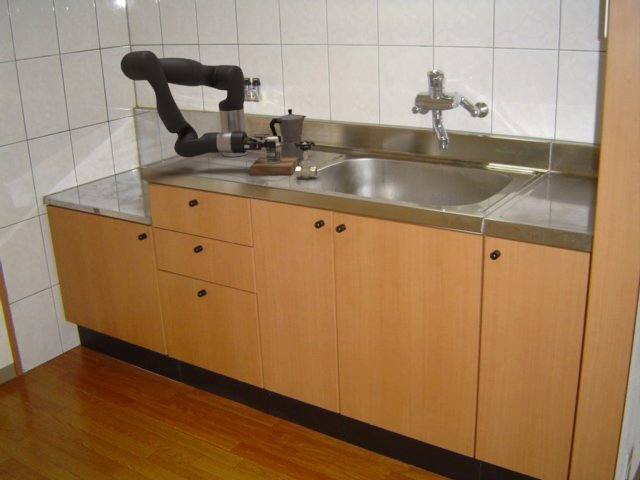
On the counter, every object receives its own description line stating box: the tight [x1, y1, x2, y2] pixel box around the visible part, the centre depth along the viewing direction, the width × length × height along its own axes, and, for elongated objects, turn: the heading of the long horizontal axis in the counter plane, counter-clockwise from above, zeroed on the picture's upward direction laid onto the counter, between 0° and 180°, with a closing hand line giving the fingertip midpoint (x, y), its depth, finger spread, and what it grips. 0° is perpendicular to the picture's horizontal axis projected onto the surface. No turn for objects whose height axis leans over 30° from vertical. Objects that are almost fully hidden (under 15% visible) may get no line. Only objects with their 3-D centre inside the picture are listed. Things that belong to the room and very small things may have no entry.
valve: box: [294, 140, 318, 180], centre depth 238 cm, size 7×7×12 cm
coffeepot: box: [268, 108, 307, 161], centre depth 265 cm, size 15×9×18 cm, turn 125°
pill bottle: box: [265, 137, 281, 163], centre depth 250 cm, size 5×5×8 cm
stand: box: [249, 156, 300, 177], centre depth 252 cm, size 14×14×3 cm
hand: (278, 141), depth 249 cm, fingers open, 8 cm apart
